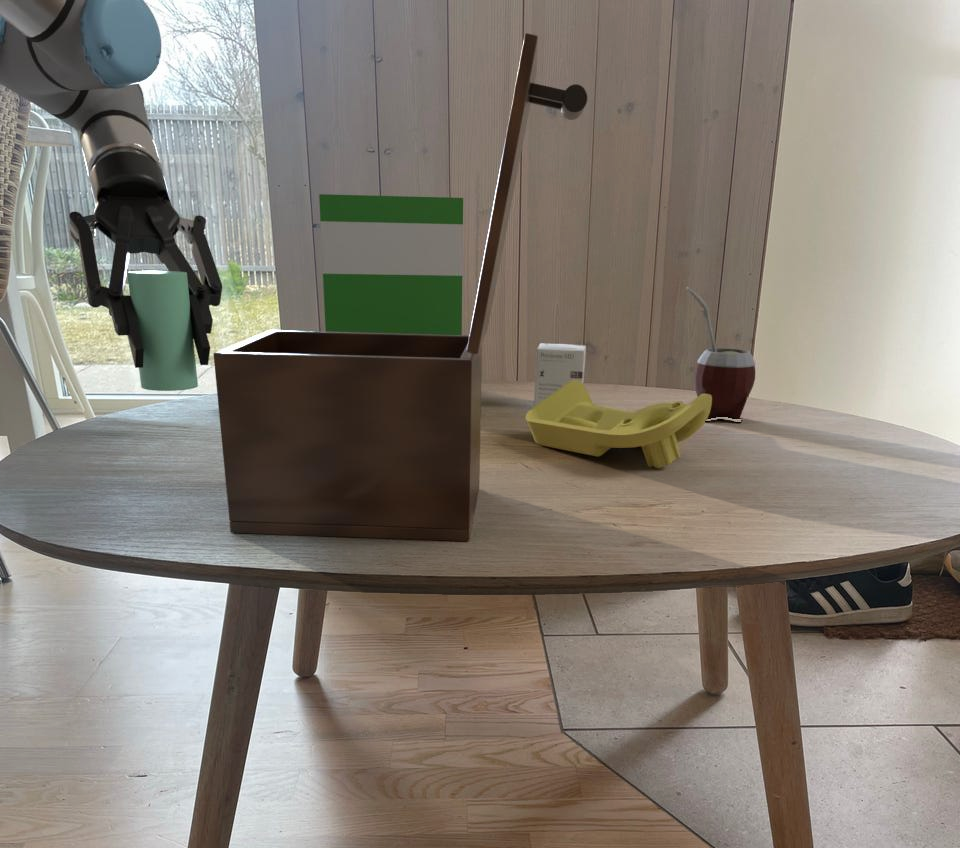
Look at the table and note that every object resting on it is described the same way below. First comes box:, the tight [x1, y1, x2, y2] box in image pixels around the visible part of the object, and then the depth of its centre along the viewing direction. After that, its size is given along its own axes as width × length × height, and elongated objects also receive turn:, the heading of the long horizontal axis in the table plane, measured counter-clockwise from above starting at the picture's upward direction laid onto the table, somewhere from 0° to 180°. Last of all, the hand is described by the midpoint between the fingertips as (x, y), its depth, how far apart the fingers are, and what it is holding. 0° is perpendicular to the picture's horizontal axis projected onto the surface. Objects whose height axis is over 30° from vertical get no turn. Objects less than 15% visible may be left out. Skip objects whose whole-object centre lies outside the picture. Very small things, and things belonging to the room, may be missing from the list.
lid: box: [467, 32, 588, 354], centre depth 65 cm, size 19×15×5 cm
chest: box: [213, 329, 483, 542], centre depth 72 cm, size 18×15×13 cm
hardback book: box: [318, 193, 464, 335], centre depth 122 cm, size 18×7×24 cm, turn 97°
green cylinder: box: [126, 270, 199, 392], centre depth 93 cm, size 6×6×11 cm
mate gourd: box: [685, 286, 756, 419], centre depth 110 cm, size 8×8×15 cm
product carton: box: [533, 342, 587, 407], centre depth 117 cm, size 6×6×7 cm
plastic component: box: [525, 380, 712, 469], centre depth 93 cm, size 20×7×10 cm
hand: (172, 357), depth 91 cm, fingers closed on green cylinder, 6 cm apart
